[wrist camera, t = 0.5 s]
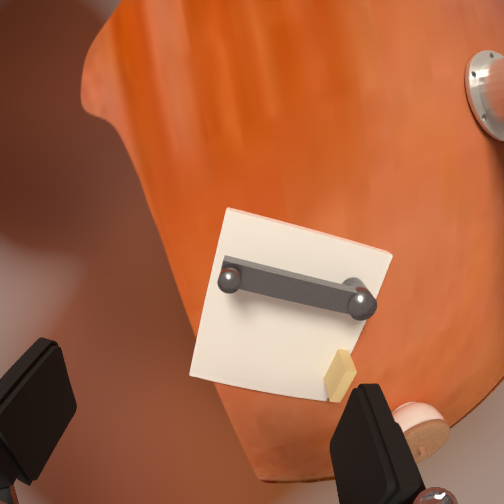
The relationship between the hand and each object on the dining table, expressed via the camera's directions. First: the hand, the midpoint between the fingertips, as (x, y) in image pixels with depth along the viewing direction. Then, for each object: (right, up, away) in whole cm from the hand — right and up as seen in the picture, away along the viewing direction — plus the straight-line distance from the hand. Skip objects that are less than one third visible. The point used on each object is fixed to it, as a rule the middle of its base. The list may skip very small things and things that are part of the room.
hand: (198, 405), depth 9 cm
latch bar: (+6, +2, +25) cm, 26 cm away
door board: (+5, -3, +29) cm, 29 cm away
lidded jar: (+27, -22, +35) cm, 49 cm away
